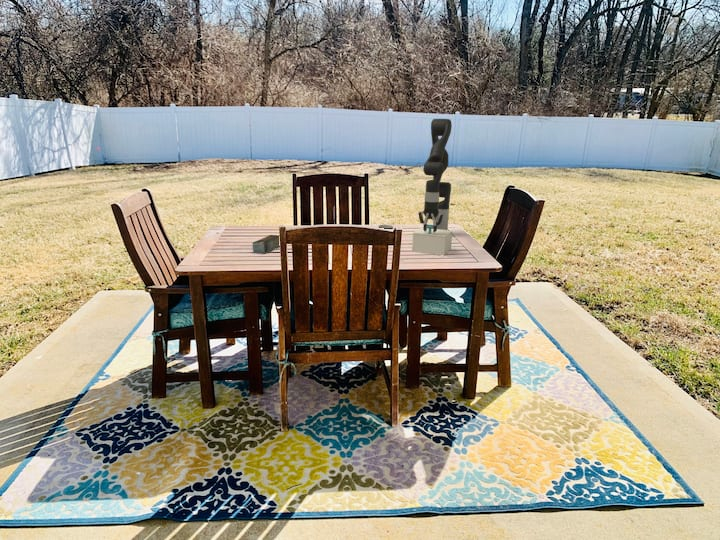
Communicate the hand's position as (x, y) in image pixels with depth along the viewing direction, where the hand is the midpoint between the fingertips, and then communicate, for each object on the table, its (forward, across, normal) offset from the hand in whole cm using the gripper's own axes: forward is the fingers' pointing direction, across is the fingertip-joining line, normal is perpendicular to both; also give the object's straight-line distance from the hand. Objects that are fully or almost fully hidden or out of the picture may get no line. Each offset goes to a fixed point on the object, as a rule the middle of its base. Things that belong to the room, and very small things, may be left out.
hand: (429, 231), depth 272 cm
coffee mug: (+12, +28, -8) cm, 32 cm away
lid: (+2, 0, -6) cm, 6 cm away
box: (+12, 0, -6) cm, 14 cm away
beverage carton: (+13, +81, +34) cm, 89 cm away
